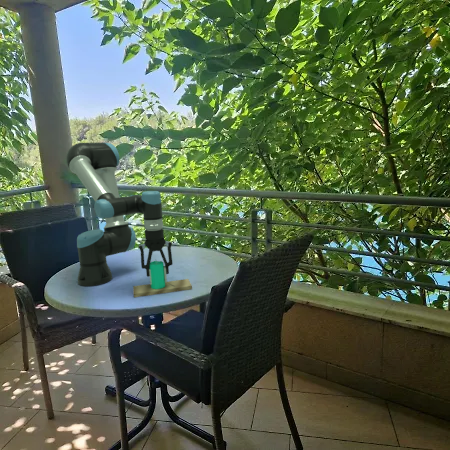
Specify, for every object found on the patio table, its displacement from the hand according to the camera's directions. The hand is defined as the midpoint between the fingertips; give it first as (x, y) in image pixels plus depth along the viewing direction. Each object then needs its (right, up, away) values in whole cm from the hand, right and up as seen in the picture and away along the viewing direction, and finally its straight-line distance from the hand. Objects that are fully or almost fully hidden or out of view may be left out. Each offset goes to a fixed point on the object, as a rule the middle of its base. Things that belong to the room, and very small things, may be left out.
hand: (158, 282), depth 143 cm
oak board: (+1, -3, +1) cm, 4 cm away
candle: (0, -2, 0) cm, 2 cm away
